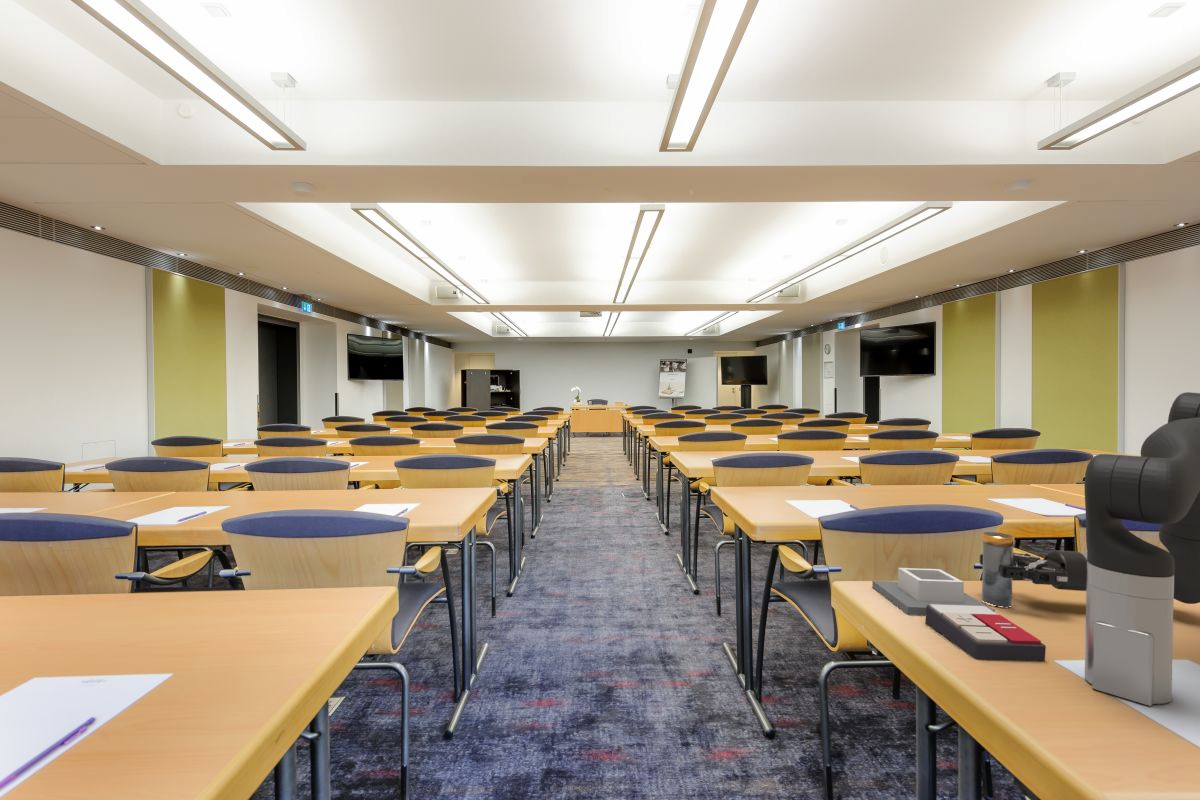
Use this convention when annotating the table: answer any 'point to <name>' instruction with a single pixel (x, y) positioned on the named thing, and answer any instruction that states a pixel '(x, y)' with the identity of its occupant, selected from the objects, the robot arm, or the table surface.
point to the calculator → (984, 633)
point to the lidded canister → (997, 568)
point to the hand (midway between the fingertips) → (990, 565)
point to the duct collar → (924, 590)
